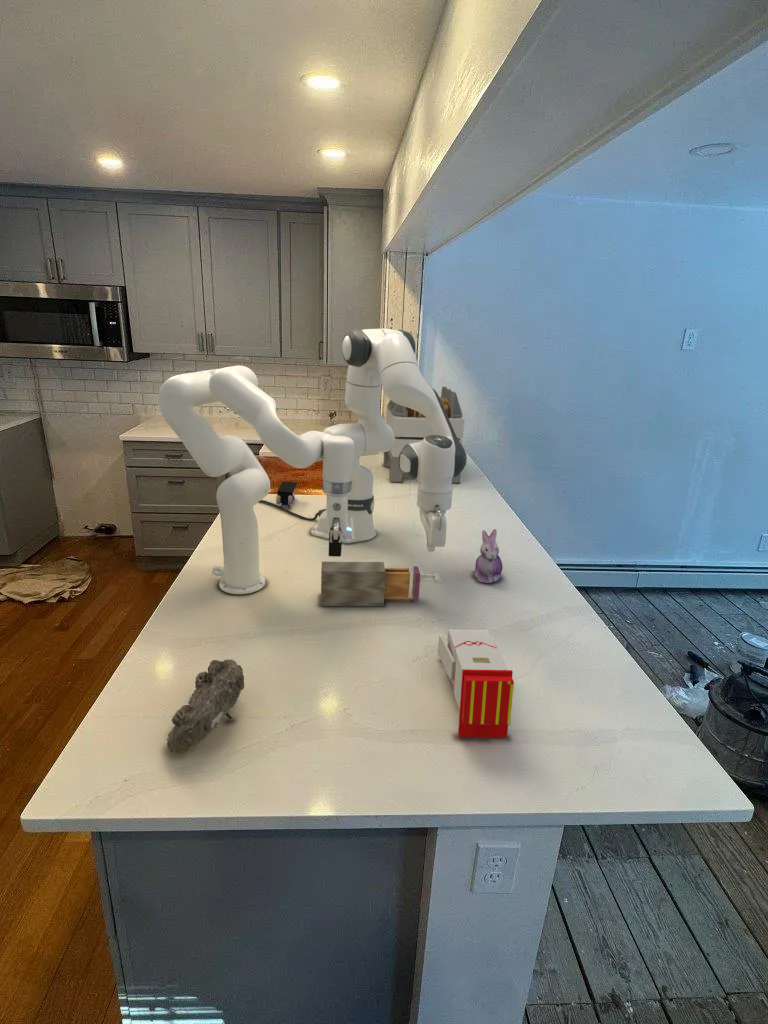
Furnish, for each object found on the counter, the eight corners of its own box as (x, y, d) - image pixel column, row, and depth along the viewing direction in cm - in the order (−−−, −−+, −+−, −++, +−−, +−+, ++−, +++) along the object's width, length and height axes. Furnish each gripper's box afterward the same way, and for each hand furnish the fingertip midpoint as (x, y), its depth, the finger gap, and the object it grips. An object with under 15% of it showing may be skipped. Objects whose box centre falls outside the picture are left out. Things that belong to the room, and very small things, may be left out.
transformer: (382, 463, 289) (386, 382, 275) (445, 464, 293) (451, 384, 279) (390, 482, 257) (394, 392, 243) (460, 483, 261) (468, 394, 247)
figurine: (485, 587, 164) (491, 539, 159) (465, 572, 172) (469, 526, 167) (511, 581, 168) (517, 534, 163) (490, 567, 176) (495, 522, 171)
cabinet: (382, 595, 157) (383, 561, 153) (383, 605, 151) (385, 571, 148) (321, 595, 155) (321, 561, 152) (321, 606, 150) (321, 571, 146)
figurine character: (293, 513, 218) (297, 497, 231) (292, 495, 215) (297, 480, 228) (275, 513, 218) (281, 496, 231) (274, 495, 214) (280, 479, 228)
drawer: (436, 593, 157) (438, 566, 155) (439, 601, 153) (441, 573, 150) (360, 593, 155) (361, 565, 153) (360, 601, 151) (361, 573, 148)
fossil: (192, 660, 117) (244, 628, 112) (224, 691, 120) (276, 661, 115) (142, 746, 98) (202, 712, 93) (182, 779, 101) (242, 748, 96)
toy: (488, 613, 130) (523, 677, 101) (484, 667, 133) (517, 744, 104) (435, 612, 130) (455, 676, 101) (432, 666, 133) (451, 743, 103)
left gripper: (353, 497, 134) (349, 562, 140) (351, 476, 150) (348, 535, 156) (321, 496, 134) (319, 562, 139) (322, 475, 150) (321, 534, 156)
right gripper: (454, 513, 136) (449, 566, 141) (439, 488, 155) (436, 534, 160) (428, 513, 135) (424, 566, 140) (416, 487, 154) (413, 534, 159)
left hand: (334, 548), depth 148 cm, fingers open, 9 cm apart
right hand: (430, 549), depth 150 cm, fingers closed
